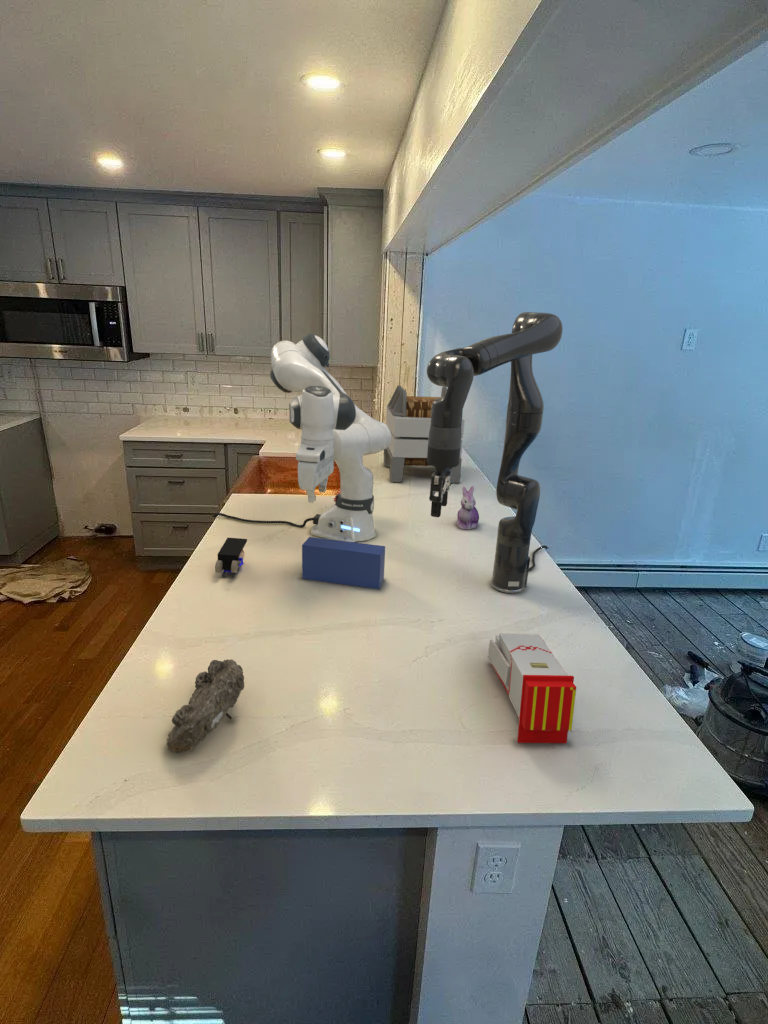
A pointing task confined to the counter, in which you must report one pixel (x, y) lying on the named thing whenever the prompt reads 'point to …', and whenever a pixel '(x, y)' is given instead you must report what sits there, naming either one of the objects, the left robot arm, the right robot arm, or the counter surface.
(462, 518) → the figurine
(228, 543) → the figurine character
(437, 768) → the counter surface
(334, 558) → the box
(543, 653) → the toy
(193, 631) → the counter surface
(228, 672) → the fossil
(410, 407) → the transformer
